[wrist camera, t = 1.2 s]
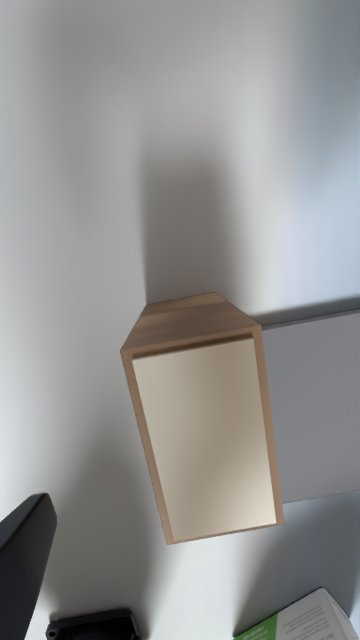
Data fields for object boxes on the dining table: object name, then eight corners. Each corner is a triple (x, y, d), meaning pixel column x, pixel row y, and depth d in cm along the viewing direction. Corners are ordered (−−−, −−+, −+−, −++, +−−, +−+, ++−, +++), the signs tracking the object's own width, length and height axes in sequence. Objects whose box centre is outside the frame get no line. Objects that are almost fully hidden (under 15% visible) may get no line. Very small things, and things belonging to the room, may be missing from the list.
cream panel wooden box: (168, 412, 17) (167, 549, 9) (146, 304, 15) (118, 352, 7) (231, 401, 17) (286, 528, 9) (214, 292, 15) (263, 326, 7)
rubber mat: (246, 499, 18) (249, 509, 18) (221, 333, 16) (224, 337, 15) (448, 463, 18) (460, 472, 17) (456, 290, 16) (471, 292, 15)
